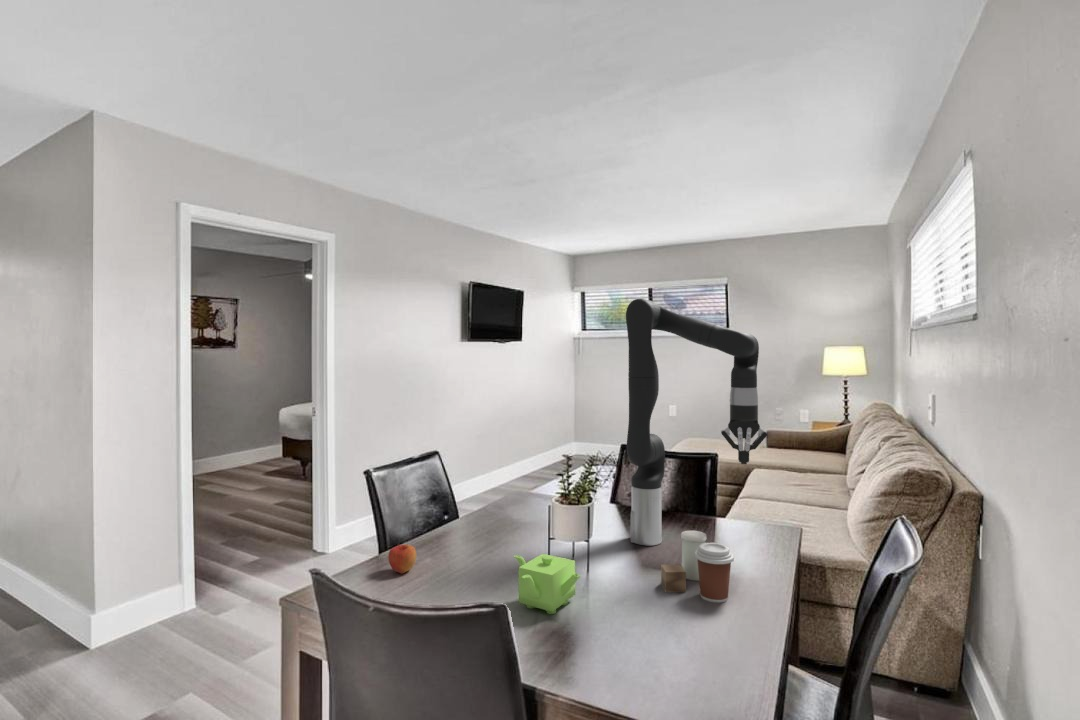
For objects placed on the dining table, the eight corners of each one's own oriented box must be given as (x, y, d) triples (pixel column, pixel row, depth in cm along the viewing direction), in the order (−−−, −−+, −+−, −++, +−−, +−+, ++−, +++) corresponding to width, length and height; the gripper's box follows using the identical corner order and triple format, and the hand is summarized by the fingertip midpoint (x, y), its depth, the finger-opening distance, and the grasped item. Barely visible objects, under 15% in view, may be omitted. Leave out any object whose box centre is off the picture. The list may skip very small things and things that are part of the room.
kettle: (522, 622, 124) (522, 571, 124) (509, 596, 138) (508, 550, 138) (587, 614, 128) (587, 564, 128) (568, 589, 142) (567, 544, 142)
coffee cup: (702, 586, 143) (701, 538, 143) (738, 594, 138) (738, 545, 138) (688, 598, 136) (688, 548, 136) (727, 608, 130) (727, 556, 130)
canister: (681, 579, 147) (681, 537, 147) (681, 570, 154) (681, 529, 153) (706, 581, 146) (706, 539, 146) (706, 572, 152) (705, 531, 152)
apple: (422, 569, 155) (421, 540, 155) (404, 579, 148) (404, 548, 148) (400, 565, 158) (400, 536, 158) (382, 574, 152) (382, 544, 151)
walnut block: (665, 592, 140) (665, 572, 140) (661, 584, 145) (661, 564, 145) (685, 592, 140) (685, 572, 140) (680, 584, 145) (680, 564, 145)
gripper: (720, 403, 160) (720, 465, 160) (770, 404, 157) (770, 467, 157) (718, 401, 167) (718, 460, 168) (766, 402, 164) (766, 462, 164)
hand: (743, 463), depth 162 cm, fingers closed
